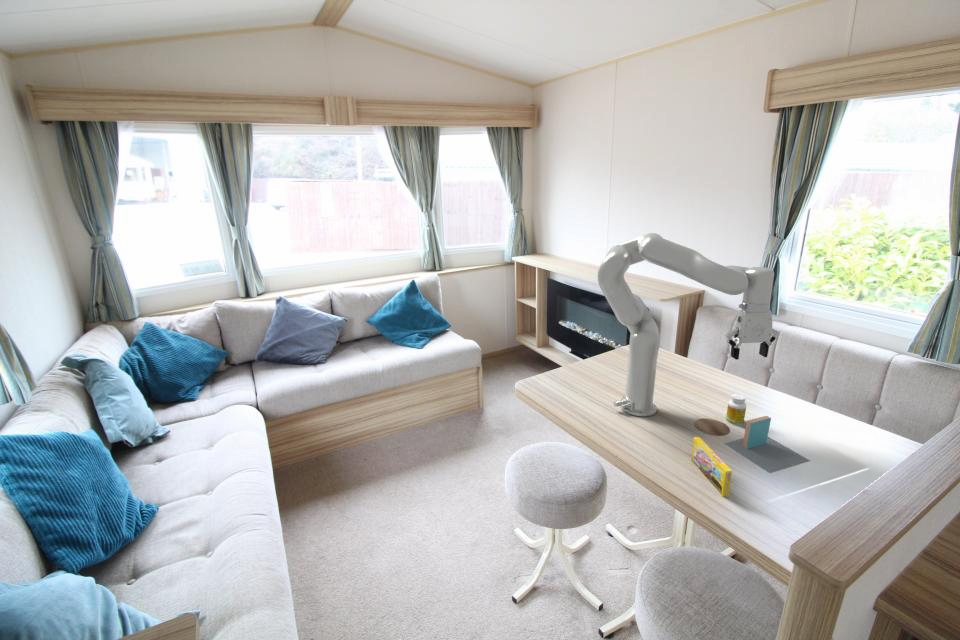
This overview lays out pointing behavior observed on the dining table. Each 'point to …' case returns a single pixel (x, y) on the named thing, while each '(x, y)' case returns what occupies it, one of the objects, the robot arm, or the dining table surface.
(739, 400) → the supplement bottle
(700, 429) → the walnut coaster
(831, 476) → the dining table surface
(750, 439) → the terracotta tile
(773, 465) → the slate mat
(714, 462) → the candy box
